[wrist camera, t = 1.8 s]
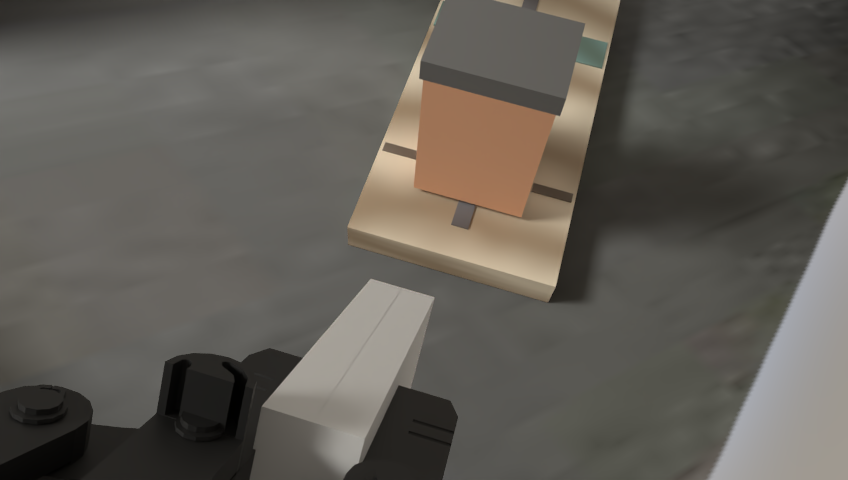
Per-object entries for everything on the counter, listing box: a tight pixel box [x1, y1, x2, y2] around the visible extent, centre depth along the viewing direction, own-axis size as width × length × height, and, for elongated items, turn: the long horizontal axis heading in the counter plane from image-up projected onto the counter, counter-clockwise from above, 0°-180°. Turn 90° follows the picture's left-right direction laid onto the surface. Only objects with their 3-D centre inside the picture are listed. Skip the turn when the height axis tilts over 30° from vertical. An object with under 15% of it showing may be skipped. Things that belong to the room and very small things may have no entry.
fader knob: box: [414, 0, 585, 217], centre depth 38 cm, size 5×7×10 cm
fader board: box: [347, 0, 620, 302], centre depth 48 cm, size 30×12×2 cm, turn 164°
